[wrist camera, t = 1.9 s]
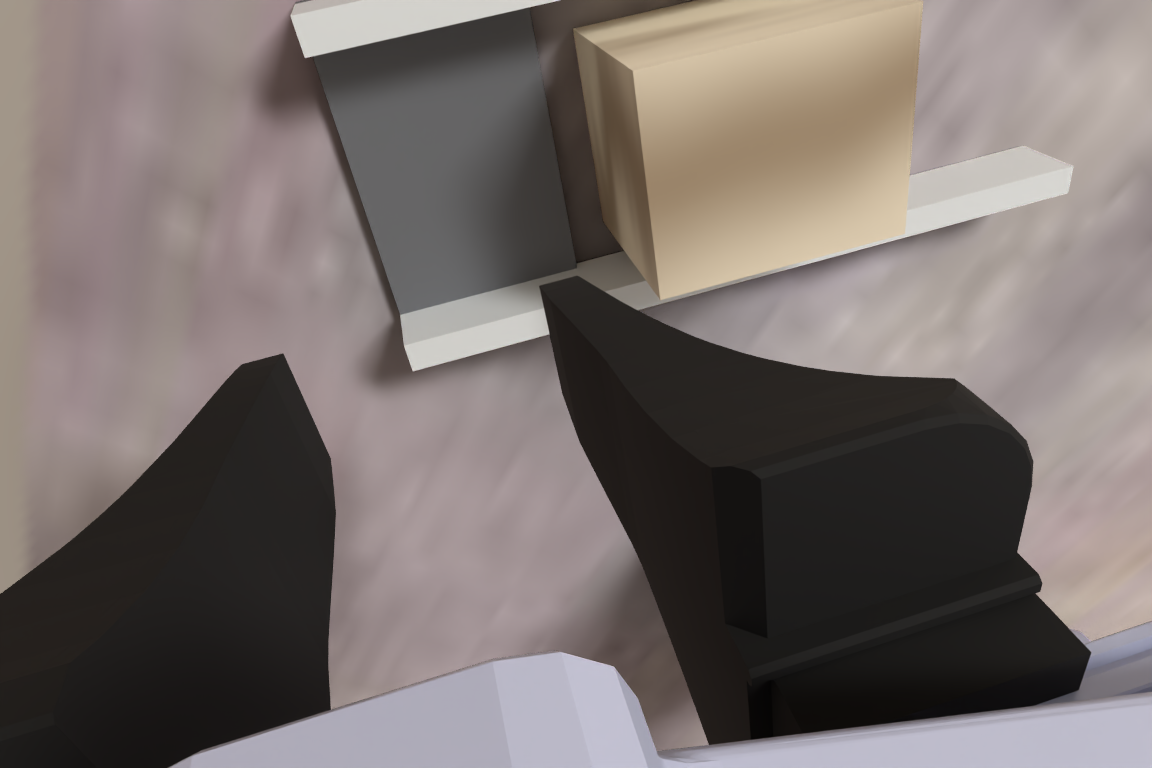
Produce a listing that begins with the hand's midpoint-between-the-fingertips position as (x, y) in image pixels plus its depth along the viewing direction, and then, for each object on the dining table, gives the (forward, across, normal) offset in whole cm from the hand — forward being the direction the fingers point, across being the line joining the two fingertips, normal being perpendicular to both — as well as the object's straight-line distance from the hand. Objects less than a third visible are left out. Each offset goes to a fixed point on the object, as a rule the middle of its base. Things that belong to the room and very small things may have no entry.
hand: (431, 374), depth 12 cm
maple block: (+10, -8, 0) cm, 12 cm away
